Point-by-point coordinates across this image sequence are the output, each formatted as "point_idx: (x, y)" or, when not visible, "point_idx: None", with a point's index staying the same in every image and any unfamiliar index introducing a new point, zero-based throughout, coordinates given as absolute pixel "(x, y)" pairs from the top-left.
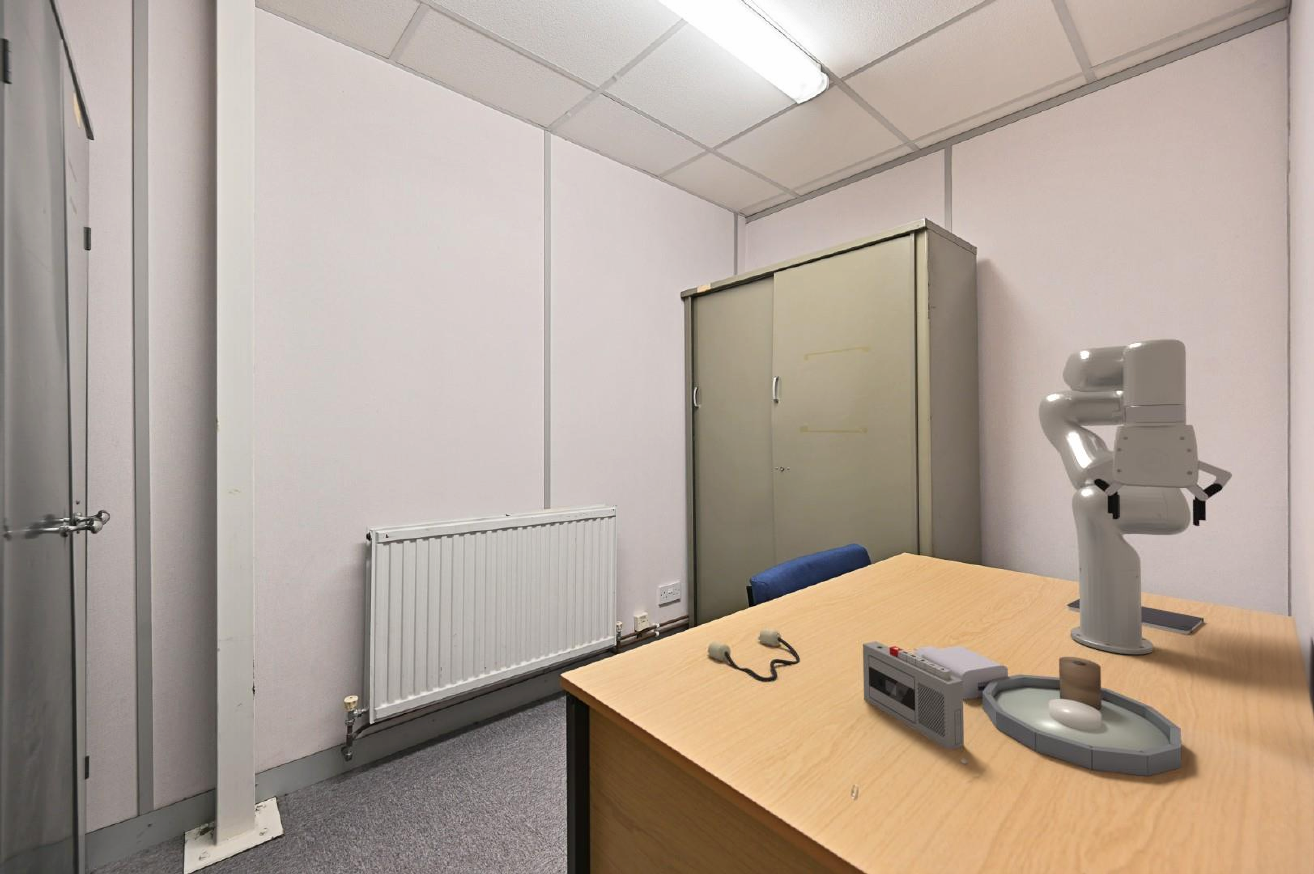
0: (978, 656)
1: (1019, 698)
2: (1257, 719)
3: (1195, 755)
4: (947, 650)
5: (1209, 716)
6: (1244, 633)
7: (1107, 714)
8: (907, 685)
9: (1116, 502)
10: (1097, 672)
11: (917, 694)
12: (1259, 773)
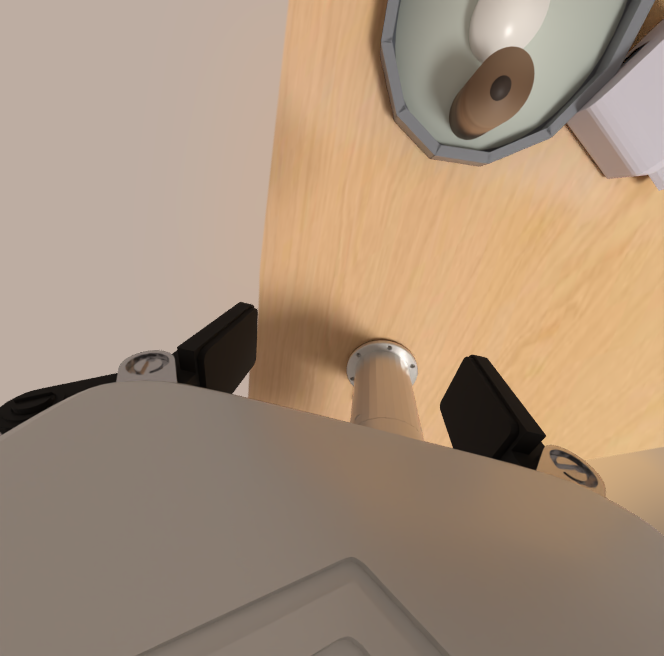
0: (639, 118)
1: (568, 60)
2: (295, 216)
3: (370, 38)
4: None
5: (333, 195)
6: None
7: (449, 83)
8: None
9: (504, 403)
10: (477, 69)
11: None
12: (317, 31)
